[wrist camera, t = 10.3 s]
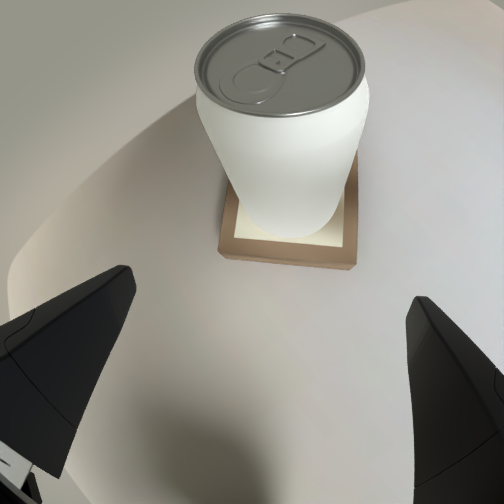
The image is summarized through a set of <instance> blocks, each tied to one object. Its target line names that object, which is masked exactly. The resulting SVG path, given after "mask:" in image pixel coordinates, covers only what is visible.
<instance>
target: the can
mask: <svg viewBox="0 0 504 504" xmlns="http://www.w3.org/2000/svg"><path fill="white" fill-rule="evenodd" d="M194 73H195V79H196V82H197V84H198V85H197V90H196V105H197V110H198V113H199V116H200V119H201V121H202V124H203V126H204V128H205V130H206V132H207V135H208V137H209V139H210V141H211V143H212V145H213V147H214V149H215V151H216V153H217V155H218V157H219V159H220V162H221V164H222V166H223V168H224V170H225V172H226V174H227V176H228V178H229V180H230V182H231V184H232V186H233V188H234V190H235V192H236V194H237V196H238V198H239V200H240V202H241V204H242V206H243V208H244V210H245V212H246V214H247V216H248V217H249V219H250V220H251V221H252V222H253V223H254V224H255V225H256V226H257V227H259V228H260V229H262V230H263V231H265V232H267V233H269V234H271V235H274V236H277V237H281V238H300V237H304V236H307V235H310V234H312V233H314V232H316V231H318V230H319V229H321V228H322V227H323V226H324V225H325V224H326V223H327V222H328V221H329V220H330V219H331V217H332V216H333V214H334V212H335V210H336V208H337V206H338V203H339V200H340V198H341V195H342V192H343V189H344V186H345V184H346V181H347V178H348V175H349V172H350V169H351V166H352V163H353V160H354V157H355V153H356V150H357V147H358V144H359V141H360V137H361V134H362V131H363V127H364V124H365V120H366V116H367V112H368V106H369V88H368V84H367V81H366V78H365V75H364V73H365V60H364V56H363V53H362V51H361V49H360V47H359V46H358V44H357V43H356V42H355V41H354V40H353V39H352V38H351V37H350V36H349V35H348V34H347V33H346V32H344V31H343V30H341V29H340V28H338V27H337V26H335V25H333V24H331V23H328V22H326V21H323V20H321V19H317V18H314V17H310V16H305V15H299V14H290V13H275V14H265V15H259V16H254V17H250V18H247V19H244V20H240V21H238V22H236V23H233V24H231V25H229V26H227V27H225V28H224V29H222V30H221V31H219V32H217V33H216V34H215V35H214V36H213V37H211V38H210V39H209V40H208V41H207V42H206V43H205V44H204V46H203V47H202V48H201V50H200V52H199V54H198V55H197V58H196V61H195V66H194Z"/></svg>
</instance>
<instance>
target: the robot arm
mask: <svg viewBox="0 0 504 504" xmlns="http://www.w3.org/2000/svg"><path fill="white" fill-rule="evenodd" d="M135 293H136V283H135V279H134V276H133V272H132V269H131V268H130V267H129V266H126V265H117V266H115V267H113V268H111V269H109V270H107V271H105V272H103V273H101V274H99V275H97V276H95V277H93V278H91V279H89V280H87V281H85V282H83V283H81V284H79V285H78V286H76V287H74V288H72V289H70V290H68V291H66V292H64V293H62V294H60V295H58V296H56V297H55V298H53V299H51V300H49V301H47V302H45V303H43V304H41V305H40V306H38V307H36V308H34V309H32V310H30V311H29V312H27V313H25V314H23V315H21V316H19V317H17V318H15V319H13V320H11V321H9V322H7V323H5V324H3V325H1V326H0V504H42V499H41V496H40V493H39V489H38V486H37V483H36V479H35V475H34V473H32V472H31V469H32V467H33V465H36V466H37V467H39V468H40V469H42V470H44V471H45V472H47V473H49V474H50V475H52V476H54V477H56V478H57V479H59V477H60V476H61V473H62V470H63V467H64V464H65V461H66V459H67V456H68V453H69V450H70V448H71V445H72V442H73V439H74V437H75V434H76V432H77V430H76V429H78V426H79V424H80V421H81V419H82V416H83V414H84V411H85V409H86V406H87V404H88V402H89V399H90V397H91V395H92V392H93V390H94V388H95V385H96V383H97V381H98V379H99V376H100V374H101V372H102V370H103V367H104V365H105V363H106V361H107V359H108V357H109V355H110V352H111V350H112V348H113V346H114V344H115V342H116V340H117V338H118V336H119V334H120V331H121V329H122V327H123V324H124V322H125V319H126V317H127V314H128V311H129V309H130V306H131V303H132V301H133V298H134V296H135ZM406 338H407V363H408V374H409V382H410V392H411V402H412V414H413V430H414V499H413V504H504V375H503V374H502V373H501V372H500V370H499V369H498V368H496V366H495V365H494V364H493V363H492V362H491V360H490V359H489V358H488V357H487V356H486V355H485V354H484V353H483V352H482V351H481V350H480V349H479V347H478V346H477V345H476V344H475V343H474V342H473V341H472V340H471V339H470V338H469V337H468V336H467V335H466V334H465V333H464V332H463V331H462V330H461V329H460V328H459V327H458V326H457V325H456V324H455V323H454V322H453V321H452V320H451V319H450V318H449V317H448V316H447V315H446V314H445V313H444V312H443V311H442V310H441V309H440V308H439V307H438V306H437V305H436V304H435V303H434V302H433V301H432V300H431V299H430V298H428V297H426V296H416V297H415V298H414V299H413V302H412V304H411V307H410V309H409V311H408V314H407V316H406Z"/></svg>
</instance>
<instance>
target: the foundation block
mask: <svg viewBox="0 0 504 504" xmlns="http://www.w3.org/2000/svg"><path fill="white" fill-rule="evenodd" d="M357 237H358V158H357V150H356V153H355V157H354V160H353V163H352V166H351V169H350V172H349V175H348V178H347V181H346V184H345V186H344V189H343V192H342V195H341V198H340V200H339V203H338V206H337V208H336V210H335V212H334V214H333V216H332V217H331V219H330V220H329V221H328V222H327V223H326V224H325V225H324V226H323V227H322V228H321V229H319V230H318V231H316V232H314V233H312V234H310V235H307V236H304V237H300V238H281V237H277V236H274V235H271V234H269V233H267V232H265V231H263V230H262V229H260V228H259V227H257V226H256V225H255V224H254V223H253V222H252V221H251V220H250V219H249V217H248V216H247V214H246V212H245V210H244V208H243V206H242V204H241V202H240V200H239V198H238V196H237V194H236V192H235V190H234V188H233V186H232V184H231V182H230V180H229V182H228V188H227V194H226V200H225V206H224V212H223V219H222V225H221V231H220V238H219V245H218V252H219V253H220V254H221V255H222V256H224V257H225V258H226V259H235V260H246V261H256V262H266V263H276V264H287V265H297V266H308V267H319V268H330V269H341V270H350V269H351V268H352V267H354V266H355V265H356V260H357Z"/></svg>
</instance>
